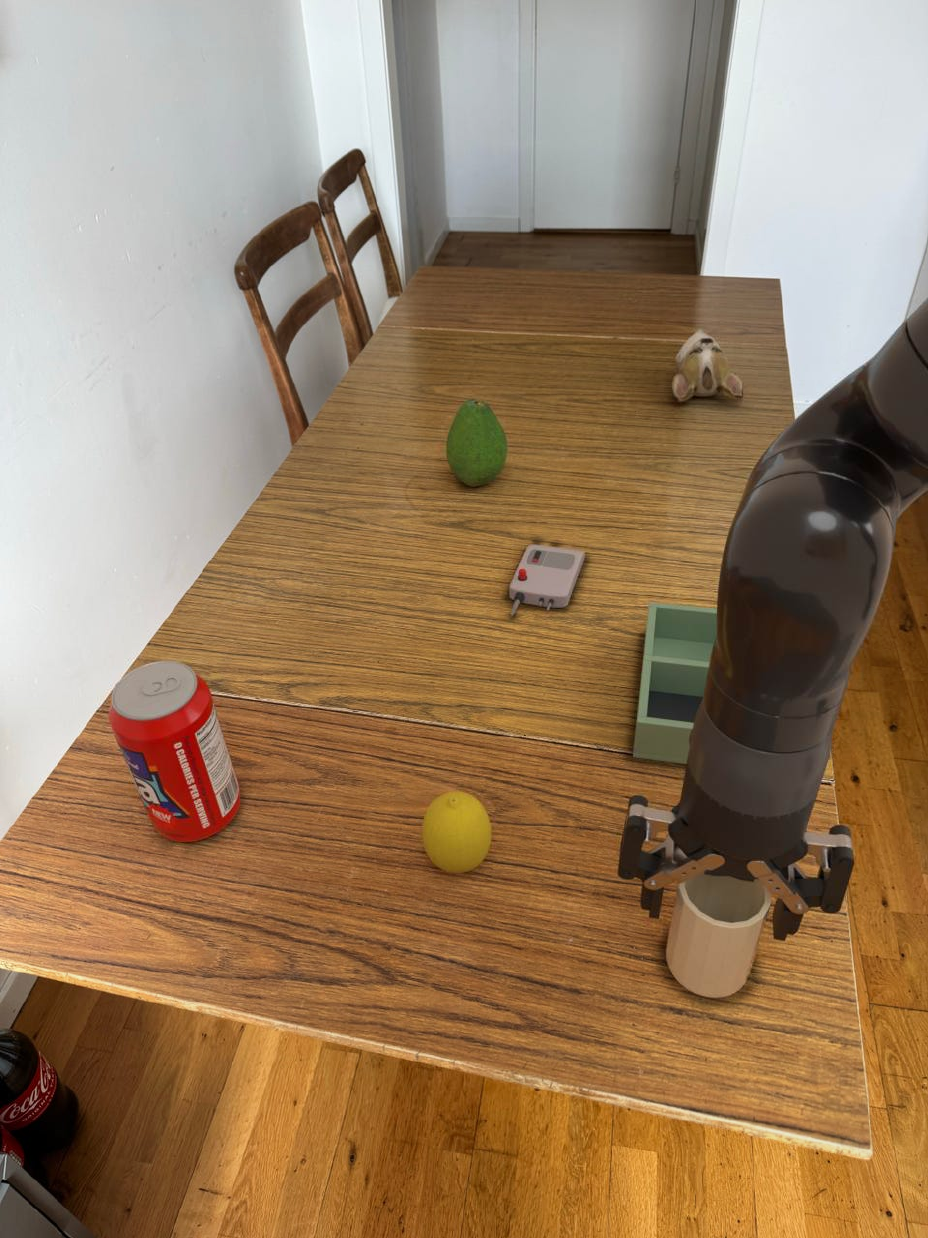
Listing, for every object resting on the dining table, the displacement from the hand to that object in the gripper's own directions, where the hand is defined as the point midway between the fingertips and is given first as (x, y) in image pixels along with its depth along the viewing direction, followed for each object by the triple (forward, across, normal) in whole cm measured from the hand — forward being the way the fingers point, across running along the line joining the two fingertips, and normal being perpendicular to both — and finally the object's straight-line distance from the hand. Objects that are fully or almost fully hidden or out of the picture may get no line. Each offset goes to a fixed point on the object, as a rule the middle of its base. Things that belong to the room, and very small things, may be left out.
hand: (715, 918), depth 62 cm
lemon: (+6, -20, +5) cm, 21 cm away
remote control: (+6, -18, +44) cm, 48 cm away
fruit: (+6, -31, +65) cm, 72 cm away
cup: (+5, 0, 0) cm, 5 cm away
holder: (+5, -2, +28) cm, 28 cm away
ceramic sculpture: (+6, -2, +97) cm, 97 cm away
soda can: (+6, -44, +6) cm, 44 cm away
